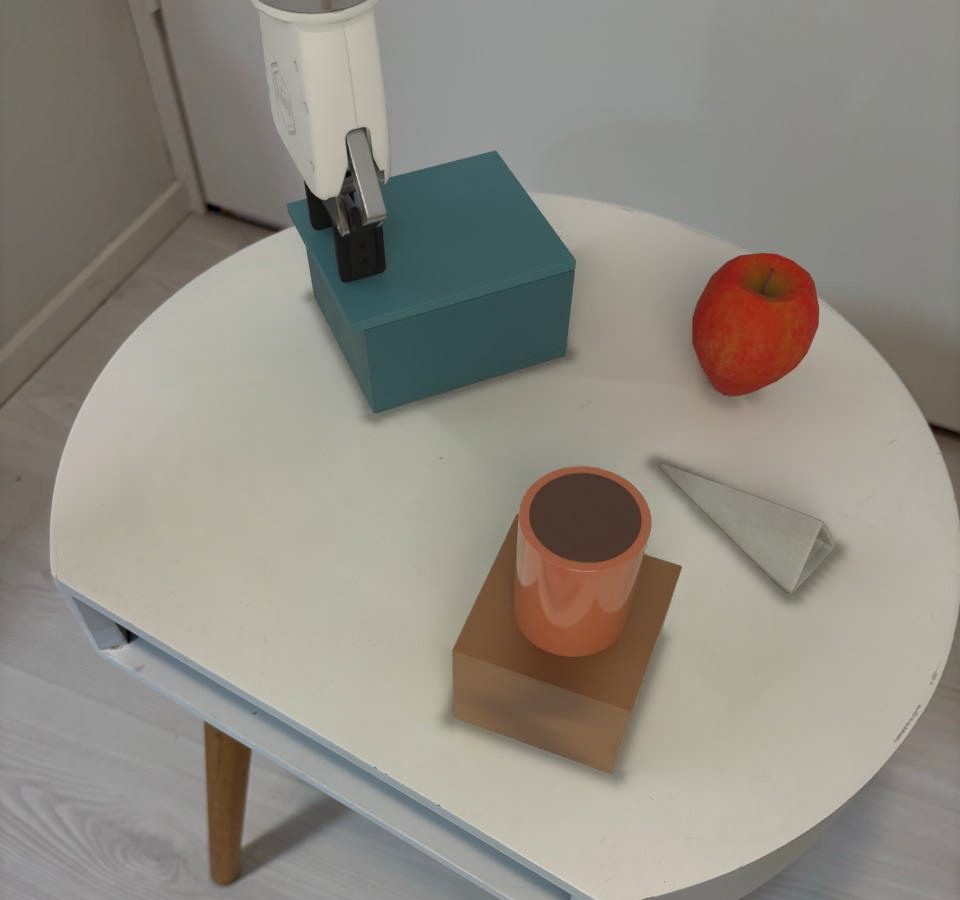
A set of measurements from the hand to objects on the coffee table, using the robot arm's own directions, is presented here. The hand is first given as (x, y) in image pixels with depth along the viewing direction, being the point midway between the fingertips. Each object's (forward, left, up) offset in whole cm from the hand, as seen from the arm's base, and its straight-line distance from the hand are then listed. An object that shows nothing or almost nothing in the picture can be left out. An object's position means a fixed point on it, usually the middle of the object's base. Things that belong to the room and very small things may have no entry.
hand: (347, 246), depth 69 cm
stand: (+23, -22, -9) cm, 33 cm away
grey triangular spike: (+30, -6, -9) cm, 33 cm away
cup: (+23, -22, -1) cm, 32 cm away
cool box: (+4, +4, -9) cm, 11 cm away
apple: (+27, +6, -9) cm, 30 cm away
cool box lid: (+4, +4, -1) cm, 6 cm away
